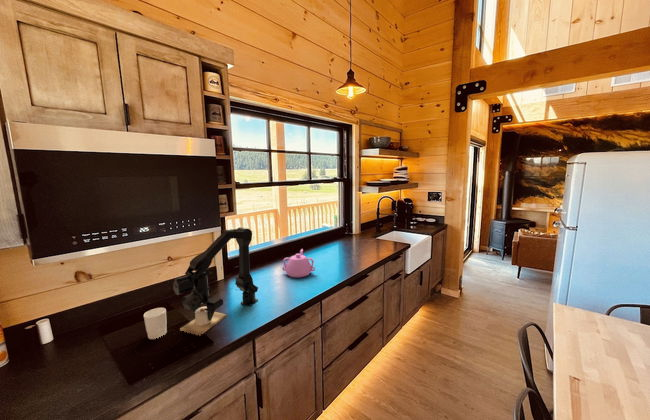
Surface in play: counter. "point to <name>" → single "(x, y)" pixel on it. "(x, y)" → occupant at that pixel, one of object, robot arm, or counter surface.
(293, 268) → the teapot
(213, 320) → the stud block
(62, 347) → the counter surface
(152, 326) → the white cup
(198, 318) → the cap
